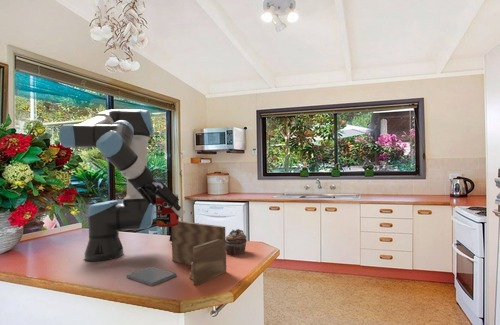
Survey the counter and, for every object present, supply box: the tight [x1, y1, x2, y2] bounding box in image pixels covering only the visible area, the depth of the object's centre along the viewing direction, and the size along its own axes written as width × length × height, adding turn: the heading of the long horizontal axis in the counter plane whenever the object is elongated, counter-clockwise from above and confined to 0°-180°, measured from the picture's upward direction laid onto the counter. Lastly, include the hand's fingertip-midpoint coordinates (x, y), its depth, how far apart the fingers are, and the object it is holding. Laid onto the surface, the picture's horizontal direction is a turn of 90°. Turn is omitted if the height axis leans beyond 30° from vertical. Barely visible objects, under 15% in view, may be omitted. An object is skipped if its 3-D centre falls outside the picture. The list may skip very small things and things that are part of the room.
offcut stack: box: [189, 262, 193, 280], centre depth 107 cm, size 4×9×5 cm, turn 144°
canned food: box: [155, 193, 180, 228], centre depth 113 cm, size 8×8×11 cm
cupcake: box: [225, 228, 247, 256], centre depth 134 cm, size 10×10×10 cm
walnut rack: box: [171, 220, 227, 286], centre depth 112 cm, size 27×14×16 cm, turn 54°
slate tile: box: [126, 266, 177, 287], centre depth 107 cm, size 14×10×1 cm
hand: (174, 214), depth 116 cm, fingers closed on canned food, 8 cm apart
